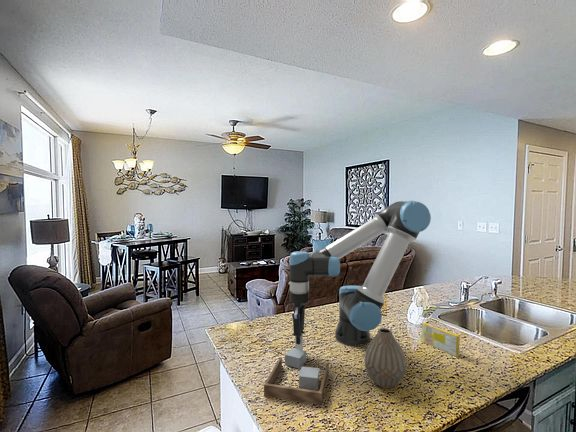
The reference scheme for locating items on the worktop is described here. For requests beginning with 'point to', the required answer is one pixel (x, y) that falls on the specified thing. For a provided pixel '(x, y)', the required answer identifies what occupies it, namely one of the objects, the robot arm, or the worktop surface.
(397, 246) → the robot arm
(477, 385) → the worktop surface
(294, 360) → the tile
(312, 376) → the light grey square block
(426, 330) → the candy box
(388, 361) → the vase
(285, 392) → the frame
